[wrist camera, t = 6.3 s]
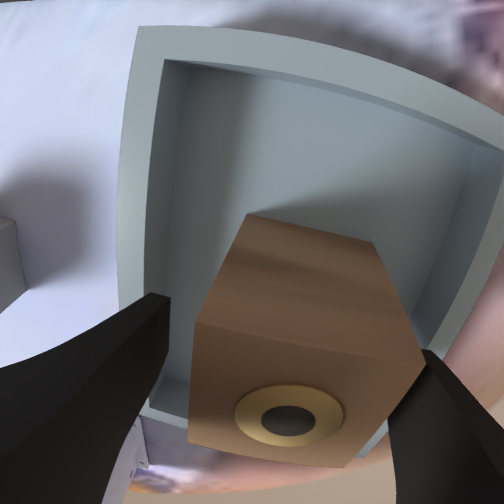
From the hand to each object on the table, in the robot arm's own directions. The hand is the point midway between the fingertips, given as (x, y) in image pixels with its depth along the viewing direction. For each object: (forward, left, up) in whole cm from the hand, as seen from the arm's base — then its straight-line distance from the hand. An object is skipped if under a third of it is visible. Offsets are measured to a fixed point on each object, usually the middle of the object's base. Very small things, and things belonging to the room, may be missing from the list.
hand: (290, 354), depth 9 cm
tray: (0, 0, -4) cm, 4 cm away
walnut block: (0, 0, -4) cm, 4 cm away
